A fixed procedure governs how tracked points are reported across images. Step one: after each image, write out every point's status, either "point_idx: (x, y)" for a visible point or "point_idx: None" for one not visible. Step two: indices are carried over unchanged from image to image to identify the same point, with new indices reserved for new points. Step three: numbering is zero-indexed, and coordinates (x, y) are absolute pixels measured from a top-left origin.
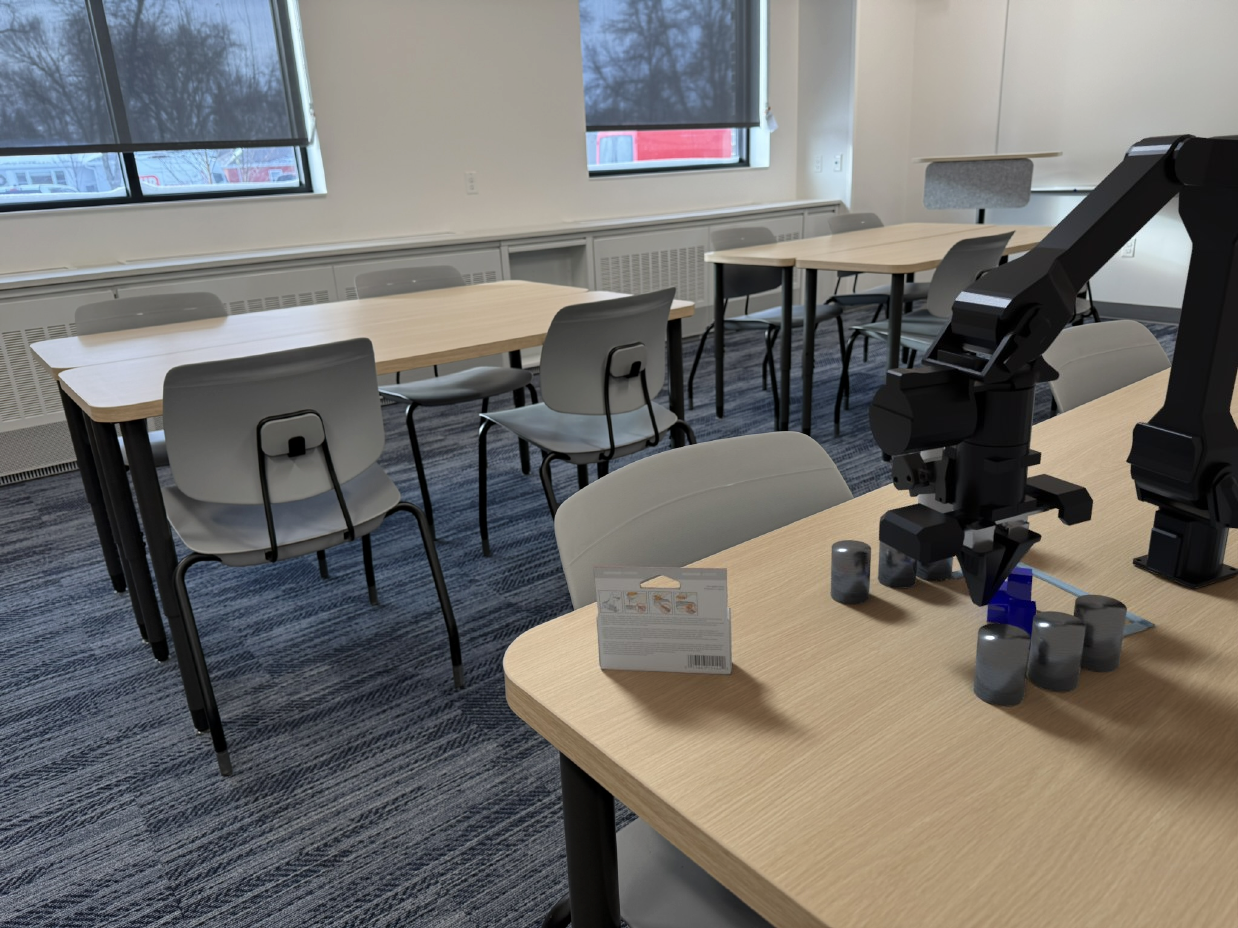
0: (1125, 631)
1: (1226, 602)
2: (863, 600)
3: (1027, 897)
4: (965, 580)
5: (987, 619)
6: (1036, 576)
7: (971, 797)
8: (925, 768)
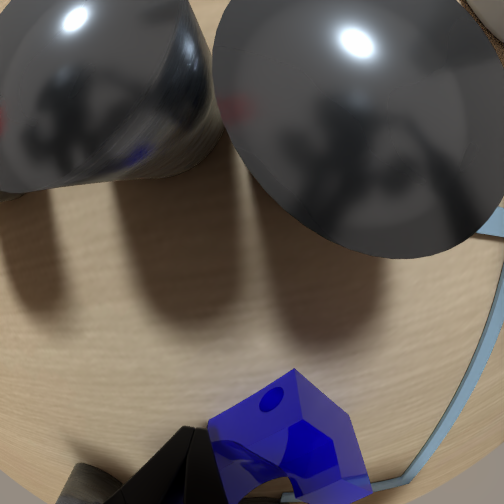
0: None
1: (499, 444)
2: (11, 199)
3: (43, 499)
4: (143, 467)
5: (209, 424)
6: (487, 321)
7: (35, 479)
8: (14, 456)
